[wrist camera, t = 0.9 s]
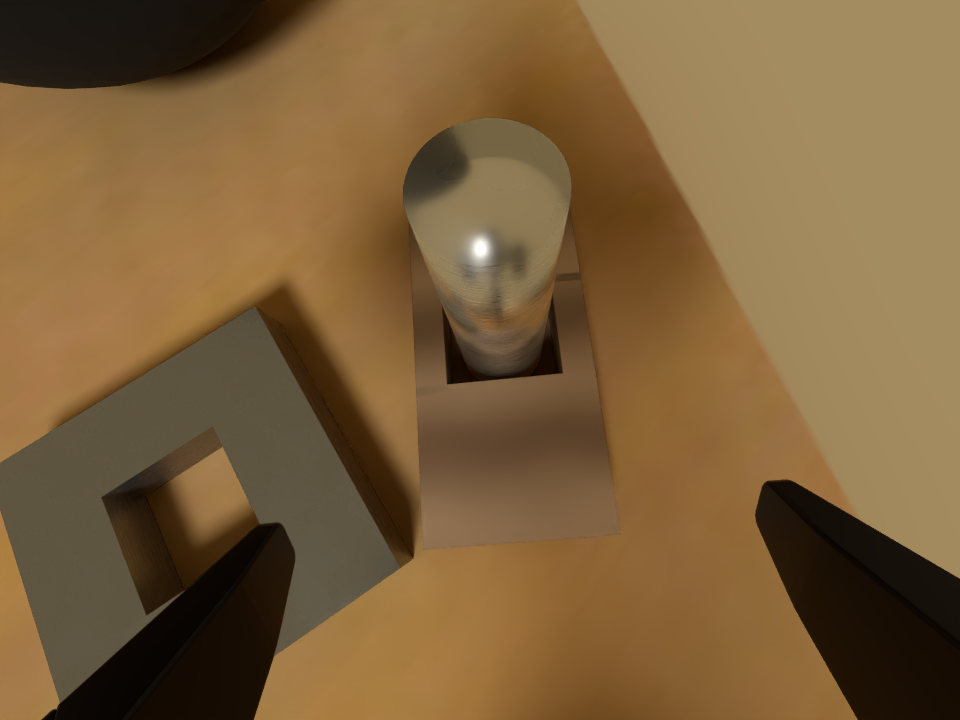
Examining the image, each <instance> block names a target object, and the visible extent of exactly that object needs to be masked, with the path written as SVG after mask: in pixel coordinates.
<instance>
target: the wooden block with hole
mask: <svg viewBox="0 0 960 720" xmlns="http://www.w3.org/2000/svg"><path fill="white" fill-rule="evenodd" d="M409 234H410V258H411V281H412V305H413V328H414V351H415V375H416V398H417V421H418V445H419V468H420V492H421V515H422V538H423V550H428V549H441V548H454V547H467V546H480V545H492V544H505V543H518V542H531V541H543V540H556V539H569V538H582V537H595V536H607V535H620V534H621V533H620V526H619V520H618V513H617V507H616V501H615V494H614V488H613V481H612V475H611V468H610V462H609V456H608V449H607V443H606V436H605V430H604V424H603V417H602V411H601V404H600V398H599V392H598V385H597V379H596V372H595V366H594V360H593V353H592V347H591V340H590V334H589V328H588V321H587V315H586V308H585V302H584V296H583V289H582V283H581V276H580V270H579V264H578V257H577V251H576V244H575V238H574V232H573V225H572V219H571V212H570V206H569V210H568V215H567V220H566V226H565V231H564V236H563V241H562V246H561V252H560V257H559V262H558V267H557V272H556V278H555V283H554V288H553V293H552V298H551V304H550V309H549V320H550V327H551V335H552V343H553V350H554V358H555V365H556V373H557V374H552V375H542V376H531V377H521V378H510V379H500V380H490V381H479V382H469V383H458V384H453V372H452V356H451V341H450V326H449V321H448V318H447V316H446V313H445V311H444V308H443V306H442V303H441V301H440V298H439V296H438V293H437V291H436V288H435V285H434V283H433V280H432V278H431V275H430V273H429V270H428V268H427V265H426V263H425V260H424V258H423V255H422V253H421V250H420V248H419V245H418V243H417V240H416V238H415V235H414V233H413V230H412V228H411V225H410V223H409Z"/></svg>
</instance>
